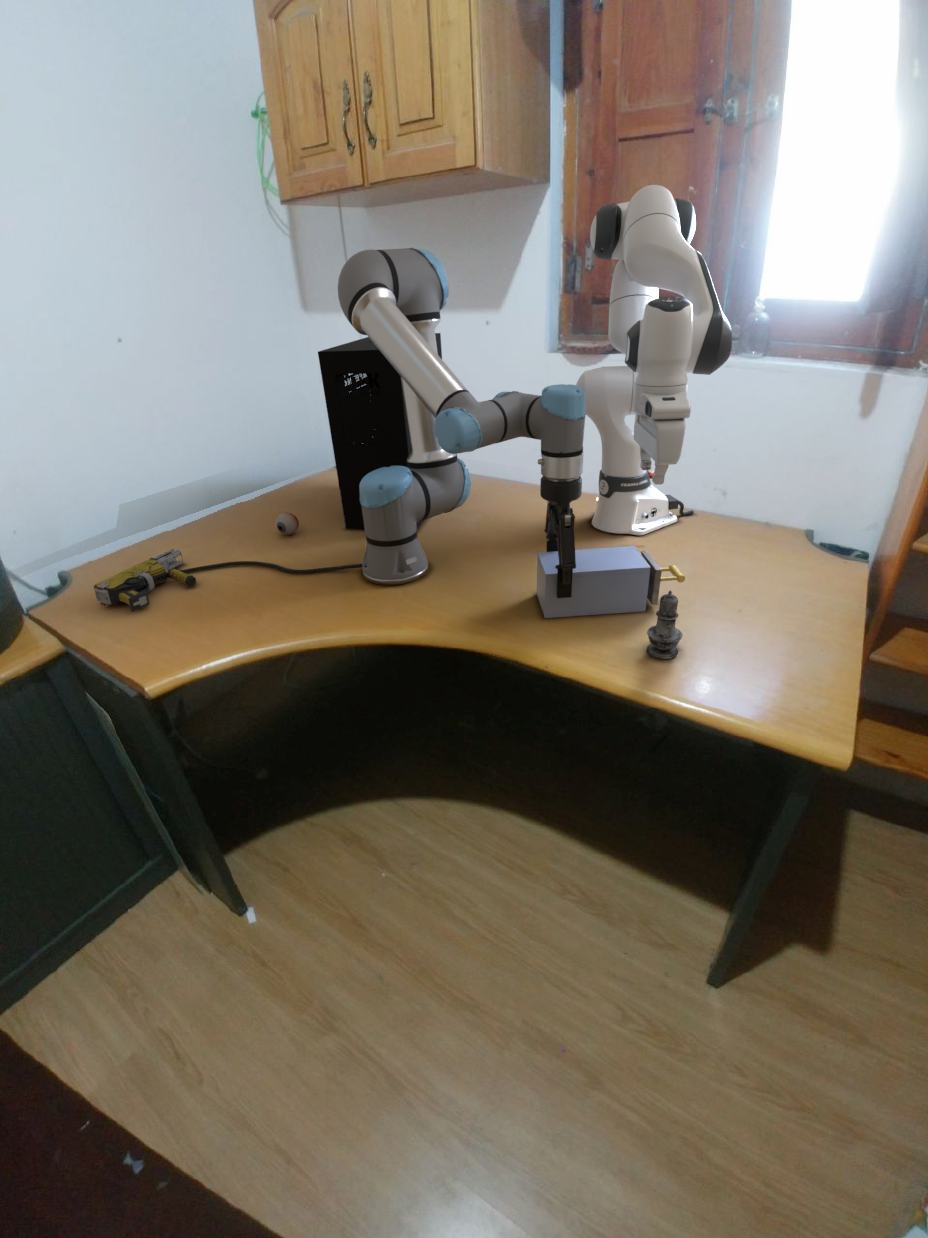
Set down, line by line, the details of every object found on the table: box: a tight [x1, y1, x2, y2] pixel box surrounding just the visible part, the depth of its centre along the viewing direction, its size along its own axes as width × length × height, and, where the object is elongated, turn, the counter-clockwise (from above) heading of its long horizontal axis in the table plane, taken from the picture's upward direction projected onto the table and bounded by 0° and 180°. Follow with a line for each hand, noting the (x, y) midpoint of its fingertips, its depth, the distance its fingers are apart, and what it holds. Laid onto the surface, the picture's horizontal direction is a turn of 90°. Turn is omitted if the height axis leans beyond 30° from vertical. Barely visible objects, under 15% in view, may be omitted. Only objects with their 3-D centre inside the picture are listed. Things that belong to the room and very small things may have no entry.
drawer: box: [640, 550, 686, 606], centre depth 121 cm, size 24×9×8 cm, turn 93°
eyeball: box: [275, 511, 300, 536], centre depth 163 cm, size 6×6×6 cm
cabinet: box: [536, 545, 650, 619], centre depth 121 cm, size 20×10×10 cm, turn 93°
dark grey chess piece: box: [646, 589, 683, 660], centre depth 104 cm, size 6×6×12 cm
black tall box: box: [317, 332, 443, 530], centre depth 169 cm, size 38×20×45 cm, turn 167°
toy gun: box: [93, 548, 197, 612], centre depth 139 cm, size 5×24×15 cm
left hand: (558, 582), depth 121 cm, fingers open, 11 cm apart
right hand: (651, 476), depth 115 cm, fingers open, 8 cm apart
